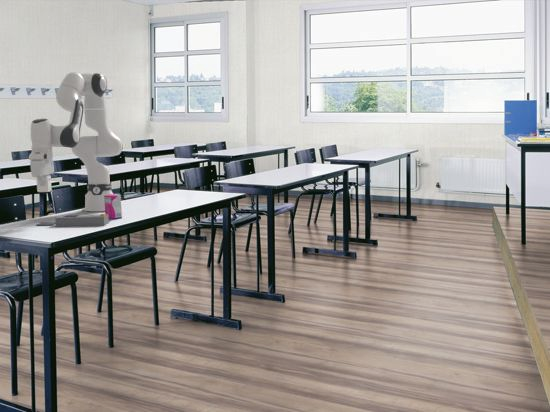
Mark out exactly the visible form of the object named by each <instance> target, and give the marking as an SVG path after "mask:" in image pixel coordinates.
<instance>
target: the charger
mask: <svg viewBox="0 0 550 412" xmlns="http://www.w3.org/2000/svg"><path fill="white" fill-rule="evenodd" d="M43 181H44V186H40V185H39V180H38V177H36V190H37V193H48V192H49V193H50V192H52V191H53V189H52V188H53V187H52V177H51V175H49V176H43Z"/></svg>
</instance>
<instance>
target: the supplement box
mask: <svg viewBox="0 0 550 412" xmlns="http://www.w3.org/2000/svg"><path fill="white" fill-rule="evenodd" d="M104 202H105V211H104V213H105V214H108V218H110V219H111V220H118V219H122V218H123V213H122V212H123V211H122V197H121V194H114V193H113V194H112V195H104Z"/></svg>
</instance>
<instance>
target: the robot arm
mask: <svg viewBox="0 0 550 412" xmlns="http://www.w3.org/2000/svg"><path fill="white" fill-rule="evenodd" d="M107 89H108V81H107V78H106V77H105V75H103V74H101V73H97V72H96V73H91V72H89V73H88V72H83V73H78V72H73V71H72V72H69V73H68V74H66V76H65V77H64V78H63V80H62V81H61V83H60V85H59V88H58V89H57V91H56V96H55V99H56V102H57V104H58V105H59V107H61V108H62V109H63V110H65V111H67V112H69V113H70V117H69V122H68V124H65V125H57V126H56V125H54V124H51V122H50V119H48V118H37V119H33V120H32V121H31V124H30V140H31V151H30V152H31V153H30V154H29V155H28V160H29V161H30V162H29V163H30V166H29V167H30V172H31V176H32V177H33V178H37V177H38V180H39V185H40V186H44V181H43V176H50V175H52V174H54V173H55V165H54V159H53V157H54V156H53V155H54V154H53V148H70V149H71V152H72V153H73V154H74V156H75V157H77V158H79V159H80V160H81V162H82V163H83V164H84V166H85V169H86V173H87V182H88V183H87V186H86V187H87V193H85V195H84V197H85V199H84V200H85V201H84V202H85V203H84V204H85V205H84V207H83V208H82V211H84V212H85V211H87V212H105V202H104V195H112V194H114V193H113V191H112V183H111V181H110V178H111V177H110V169H109V167H108V166H107V165H105V164H104V163H101V162H99V161H98V160H97V158H105V157H106V158H107V157H109V158H110V157H115V156H119V155H120V154H121V153H122V152H123V148H124V147H123V142H122V141H123V140H121V139H120V137H118V136H117V135H115V133H114V132H113V131H112V130H111V128H110V125H109V122H108V116H107V115H108V113H107V102H106V98H105V93H106V91H107ZM82 97H84V101H82V100H81V99H82ZM83 115H84V117H83ZM83 118H84V123H85V126H87V128H89V129H92V130H93V131H95V132H97V135H87V136H86V135H83V136H81V127H82V121H83Z"/></svg>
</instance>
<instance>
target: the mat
mask: <svg viewBox="0 0 550 412" xmlns="http://www.w3.org/2000/svg"><path fill="white" fill-rule="evenodd" d="M35 225H36V227H38V226H39V227H44V226H45V227H50V226H55V221H54V222H53V221H52V222H51V221H50V222H44V221H43V222H42V221H41V222H39V223H37V224H35Z"/></svg>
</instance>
